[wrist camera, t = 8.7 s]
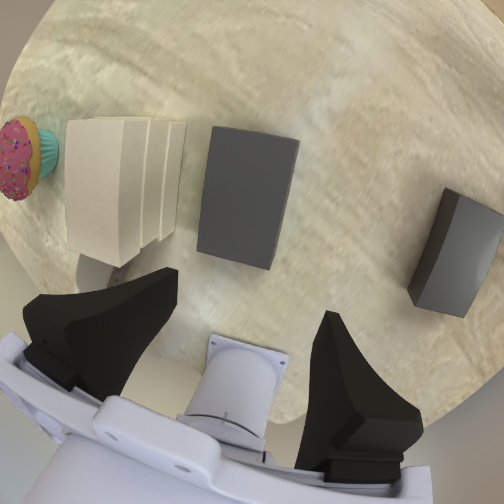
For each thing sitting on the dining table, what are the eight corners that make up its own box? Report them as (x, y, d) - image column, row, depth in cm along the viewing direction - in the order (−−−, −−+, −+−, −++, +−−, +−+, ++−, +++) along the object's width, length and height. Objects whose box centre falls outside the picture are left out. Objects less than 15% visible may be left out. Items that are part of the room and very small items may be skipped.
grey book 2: (454, 302, 20) (463, 318, 18) (406, 290, 20) (414, 306, 18) (492, 209, 16) (508, 218, 14) (445, 187, 17) (459, 194, 14)
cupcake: (71, 188, 24) (-24, 227, 13) (31, 189, 25) (-46, 222, 14) (68, 107, 20) (-33, 119, 9) (28, 121, 22) (-54, 138, 11)
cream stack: (175, 231, 23) (143, 254, 18) (123, 217, 24) (88, 237, 19) (187, 120, 19) (152, 117, 15) (130, 116, 20) (90, 117, 15)
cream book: (140, 252, 18) (119, 268, 16) (89, 236, 19) (68, 249, 17) (148, 119, 15) (123, 119, 12) (91, 118, 15) (66, 120, 13)
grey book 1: (274, 256, 22) (269, 270, 20) (208, 239, 23) (196, 251, 20) (299, 140, 18) (298, 140, 16) (224, 127, 19) (212, 125, 16)
